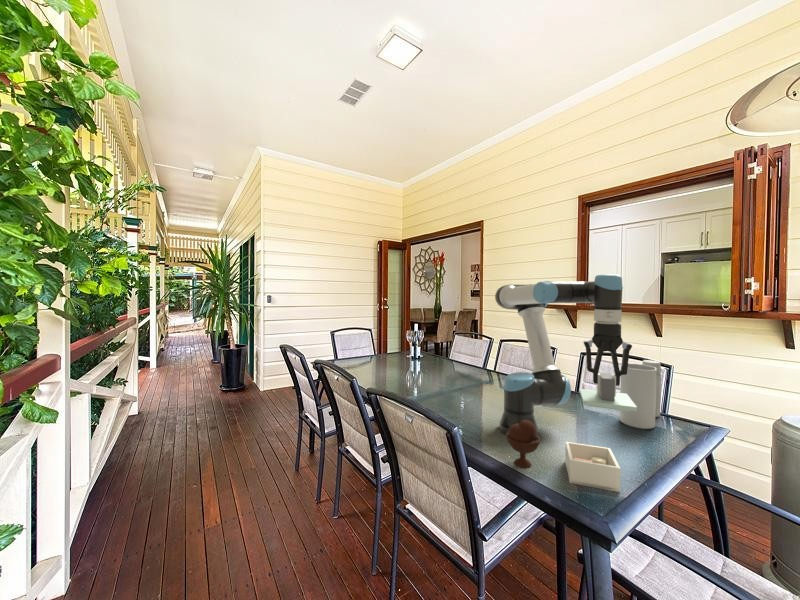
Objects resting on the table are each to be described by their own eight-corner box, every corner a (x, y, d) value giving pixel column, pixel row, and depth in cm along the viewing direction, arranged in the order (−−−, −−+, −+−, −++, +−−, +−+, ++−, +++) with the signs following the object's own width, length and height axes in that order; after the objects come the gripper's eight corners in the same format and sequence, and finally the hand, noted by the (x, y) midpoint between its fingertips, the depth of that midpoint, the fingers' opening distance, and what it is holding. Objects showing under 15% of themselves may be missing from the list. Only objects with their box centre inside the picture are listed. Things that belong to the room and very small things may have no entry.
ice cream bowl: (531, 455, 117) (531, 413, 117) (546, 472, 106) (546, 426, 105) (501, 455, 117) (501, 413, 116) (513, 473, 106) (513, 427, 105)
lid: (583, 407, 104) (584, 378, 104) (579, 394, 117) (579, 368, 117) (637, 413, 98) (637, 383, 98) (626, 399, 111) (627, 372, 111)
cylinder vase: (640, 431, 136) (641, 371, 136) (612, 419, 148) (614, 364, 148) (662, 427, 140) (663, 369, 139) (634, 416, 152) (635, 362, 151)
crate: (569, 482, 100) (570, 460, 100) (565, 461, 113) (565, 441, 112) (620, 492, 96) (620, 468, 96) (609, 469, 108) (610, 448, 108)
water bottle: (655, 412, 157) (656, 360, 156) (663, 418, 149) (665, 363, 149) (633, 410, 159) (634, 359, 159) (640, 416, 152) (641, 362, 151)
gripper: (579, 322, 107) (578, 394, 107) (641, 324, 100) (639, 401, 101) (577, 320, 113) (576, 388, 114) (635, 322, 107) (633, 394, 108)
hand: (605, 394), depth 108 cm, fingers closed on lid, 3 cm apart
